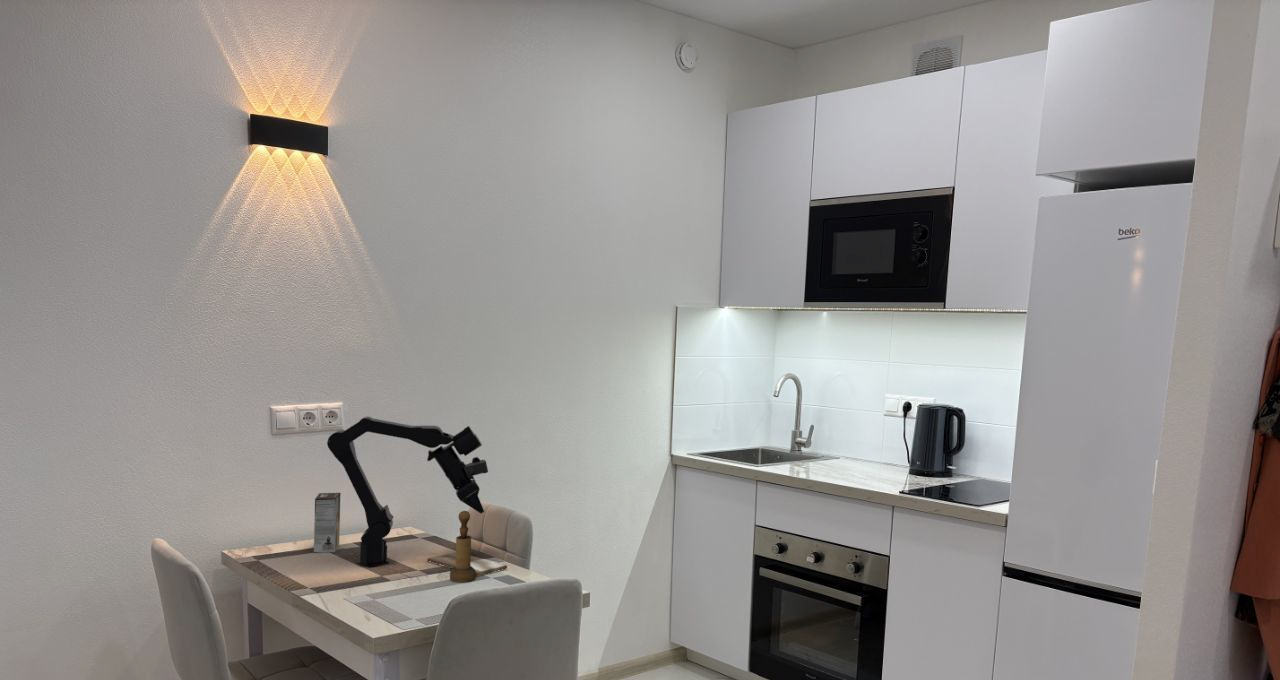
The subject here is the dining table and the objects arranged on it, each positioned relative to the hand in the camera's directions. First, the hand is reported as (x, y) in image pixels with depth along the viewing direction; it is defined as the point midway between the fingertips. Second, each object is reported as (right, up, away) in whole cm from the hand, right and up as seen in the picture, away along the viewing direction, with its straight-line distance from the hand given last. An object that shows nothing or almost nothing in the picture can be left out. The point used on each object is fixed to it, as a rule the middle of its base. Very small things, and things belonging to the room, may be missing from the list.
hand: (481, 509), depth 246 cm
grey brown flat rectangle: (-3, -15, -6) cm, 16 cm away
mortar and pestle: (-1, -15, -20) cm, 25 cm away
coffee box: (-48, -14, +9) cm, 50 cm away
